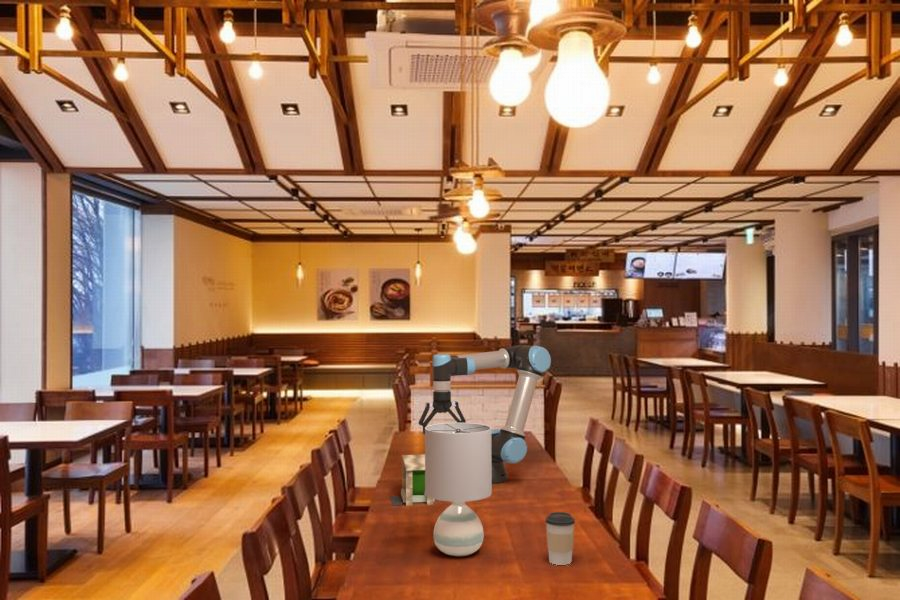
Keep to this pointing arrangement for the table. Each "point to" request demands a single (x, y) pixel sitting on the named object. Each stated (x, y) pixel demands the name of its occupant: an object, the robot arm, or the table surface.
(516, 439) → the robot arm
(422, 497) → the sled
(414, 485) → the cup
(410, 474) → the bridge
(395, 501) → the pit mat
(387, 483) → the table surface
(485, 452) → the lamp
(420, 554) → the table surface
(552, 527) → the coffee cup
